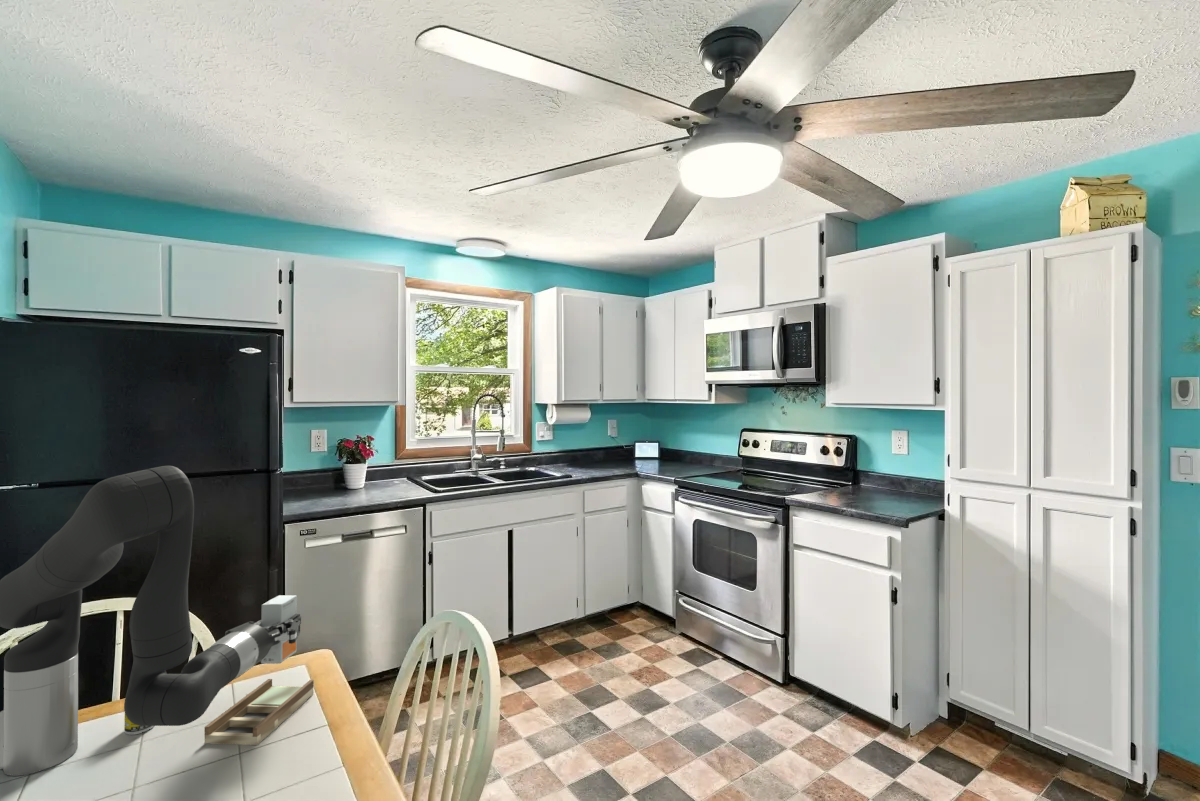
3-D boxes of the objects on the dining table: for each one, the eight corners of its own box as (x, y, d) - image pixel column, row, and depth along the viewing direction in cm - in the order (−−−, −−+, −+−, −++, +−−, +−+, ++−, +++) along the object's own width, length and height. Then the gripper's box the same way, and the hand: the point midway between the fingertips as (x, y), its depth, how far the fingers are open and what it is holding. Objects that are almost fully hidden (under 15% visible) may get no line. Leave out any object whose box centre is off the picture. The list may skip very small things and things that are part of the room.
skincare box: (281, 664, 113) (281, 604, 113) (260, 664, 113) (260, 604, 113) (298, 651, 119) (297, 594, 119) (278, 651, 119) (278, 594, 119)
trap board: (204, 743, 103) (204, 726, 103) (268, 692, 120) (268, 678, 121) (256, 745, 102) (257, 728, 102) (313, 694, 120) (313, 680, 120)
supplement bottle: (128, 738, 104) (128, 693, 104) (121, 729, 107) (121, 685, 107) (160, 726, 108) (160, 682, 108) (152, 718, 111) (152, 675, 111)
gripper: (276, 631, 102) (320, 600, 119) (196, 633, 102) (252, 601, 119) (276, 673, 102) (320, 635, 119) (196, 675, 102) (252, 637, 119)
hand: (286, 618), depth 119 cm, fingers closed on skincare box, 4 cm apart
